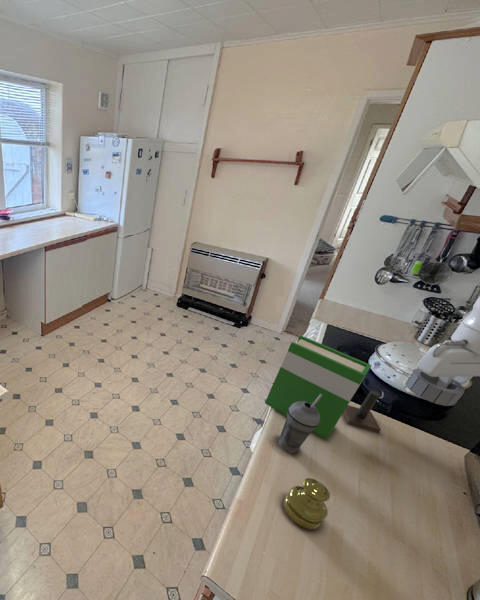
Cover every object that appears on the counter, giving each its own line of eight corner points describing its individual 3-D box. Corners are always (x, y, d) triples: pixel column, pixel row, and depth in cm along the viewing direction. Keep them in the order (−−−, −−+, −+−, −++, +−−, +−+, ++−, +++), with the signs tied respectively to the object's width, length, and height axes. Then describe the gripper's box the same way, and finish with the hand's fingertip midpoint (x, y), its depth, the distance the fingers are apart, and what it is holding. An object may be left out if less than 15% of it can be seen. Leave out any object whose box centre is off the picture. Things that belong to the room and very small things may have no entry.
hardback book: (264, 403, 105) (291, 342, 94) (274, 393, 110) (300, 335, 99) (326, 439, 93) (364, 375, 82) (334, 427, 98) (371, 365, 87)
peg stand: (368, 415, 104) (385, 389, 99) (378, 433, 97) (397, 406, 92) (339, 406, 106) (355, 381, 101) (347, 424, 99) (363, 397, 94)
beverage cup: (275, 430, 95) (301, 378, 86) (304, 445, 91) (334, 391, 82) (270, 446, 90) (297, 392, 81) (300, 462, 86) (331, 407, 77)
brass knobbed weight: (275, 503, 75) (291, 476, 71) (296, 492, 78) (312, 465, 74) (306, 536, 69) (325, 508, 65) (327, 522, 72) (346, 495, 68)
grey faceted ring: (441, 386, 82) (450, 374, 80) (463, 410, 74) (474, 397, 73) (399, 376, 84) (407, 364, 83) (416, 399, 77) (425, 386, 75)
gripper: (458, 348, 69) (423, 397, 75) (537, 348, 71) (497, 395, 77) (427, 332, 74) (397, 378, 81) (502, 333, 77) (466, 378, 83)
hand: (446, 387), depth 79 cm, fingers closed on grey faceted ring
